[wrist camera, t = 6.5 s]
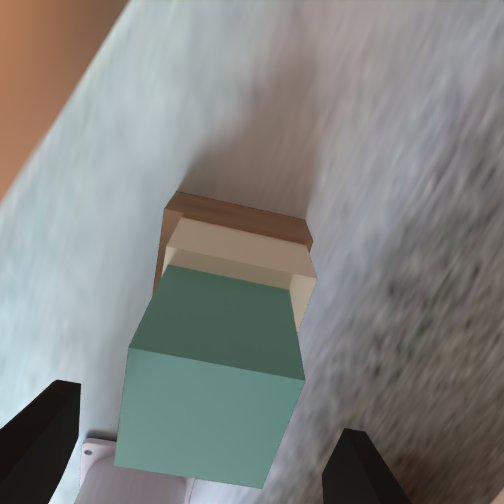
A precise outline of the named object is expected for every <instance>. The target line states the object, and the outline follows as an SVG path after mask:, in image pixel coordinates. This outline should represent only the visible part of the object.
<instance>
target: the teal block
mask: <svg viewBox="0 0 504 504" xmlns="http://www.w3.org/2000/svg"><path fill="white" fill-rule="evenodd" d="M304 383H305V376H304V370H303V364H302V359H301V353H300V347H299V342H298V336H297V330H296V325H295V319H294V313H293V308H292V302H291V296H290V291H289V290H287V289H282V288H277V287H273V286H268V285H263V284H259V283H254V282H249V281H245V280H240V279H235V278H230V277H226V276H221V275H216V274H211V273H207V272H202V271H197V270H192V269H188V268H183V267H178V266H173V265H169V264H168V265H167V267H166V269H165V271H164V273H163V275H162V278H161V280H160V282H159V284H158V286H157V288H156V290H155V292H154V294H153V297H152V299H151V301H150V303H149V305H148V307H147V309H146V311H145V314H144V316H143V318H142V320H141V322H140V324H139V326H138V328H137V331H136V333H135V335H134V337H133V339H132V341H131V343H130V345H129V348H128V356H127V364H126V372H125V380H124V388H123V396H122V404H121V412H120V420H119V428H118V436H117V444H116V452H115V460H114V466H118V467H125V468H131V469H137V470H144V471H150V472H157V473H163V474H169V475H176V476H182V477H189V478H195V479H201V480H208V481H214V482H221V483H227V484H233V485H240V486H246V487H253V488H259V489H262V488H263V485H264V483H265V480H266V478H267V475H268V473H269V470H270V468H271V465H272V463H273V460H274V458H275V455H276V453H277V450H278V448H279V445H280V443H281V440H282V438H283V435H284V433H285V430H286V428H287V425H288V423H289V420H290V418H291V415H292V413H293V410H294V408H295V405H296V403H297V400H298V398H299V395H300V393H301V390H302V388H303V385H304Z"/></svg>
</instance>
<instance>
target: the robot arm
mask: <svg viewBox="0 0 504 504" xmlns="http://www.w3.org/2000/svg"><path fill="white" fill-rule="evenodd" d="M80 395H81V384H80V383H74V382H68V381H62V380H56V381H54V382H52V383H51V384H50V385H49V386H48V387H47V388H46V389H45V390H44V391H43V392H42V393H40V394H39V395H38V396H37V397H36V398H35V399H34V400H33V401H32V402H31V403H30V404H28V405H27V406H26V407H25V408H24V409H23V410H22V411H21V412H19V413H18V414H17V415H16V416H15V417H14V418H13V419H12V420H10V421H9V422H8V423H7V424H6V425H5V426H4V427H2V428H1V429H0V504H48V503H49V501H50V499H51V497H52V496H53V494H54V492H55V490H56V488H57V486H58V484H59V482H60V480H61V478H62V476H63V473H64V471H65V469H66V466H67V464H68V462H69V459H70V457H71V454H72V452H73V449H74V447H75V444H76V442H77V440H78V437H79V416H80ZM116 444H117V442H114V441H108V440H101V439H95V438H86V439H85V440H84V441H83V443H82V445H81V461H80V480H79V493H78V495H77V497H76V500H75V502H74V504H188V503H189V500H190V496H191V492H192V488H193V484H194V480H195V478H189V477H182V476H176V475H169V474H163V473H157V472H150V471H144V470H137V469H131V468H125V467H118V466H114V460H115V452H116ZM322 486H323V500H324V504H412V503H411V502H410V500H409V499H408V497H407V496H406V494H405V493H404V491H403V490H402V488H401V487H400V485H399V483H398V482H397V480H396V479H395V477H394V476H393V474H392V473H391V471H390V470H389V468H388V466H387V465H386V463H385V462H384V460H383V459H382V457H381V455H380V454H379V452H378V451H377V449H376V448H375V446H374V445H373V443H372V441H371V440H370V438H369V437H368V435H367V434H366V432H364V431H358V430H352V429H346V428H344V430H343V432H342V434H341V436H340V438H339V440H338V443H337V445H336V447H335V449H334V451H333V453H332V455H331V457H330V459H329V461H328V463H327V465H326V467H325V469H324V471H323V473H322Z"/></svg>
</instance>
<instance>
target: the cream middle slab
mask: <svg viewBox="0 0 504 504" xmlns="http://www.w3.org/2000/svg"><path fill="white" fill-rule="evenodd" d="M168 264H169V265H173V266H178V267H183V268H188V269H192V270H197V271H202V272H207V273H211V274H216V275H221V276H226V277H230V278H235V279H240V280H245V281H249V282H254V283H259V284H263V285H268V286H273V287H277V288H282V289H287V290H289V291H290V296H291V302H292V308H293V313H294V319H295V325H296V330H297V333H298V330H299V327H300V325H301V322H302V319H303V316H304V314H305V311H306V308H307V306H308V303H309V300H310V297H311V295H312V292H313V289H314V287H315V284H316V281H317V276H316V273H315V270H314V267H313V264H312V261H311V258H310V255H309V252H308V249H307V246H306V245H303V244H298V243H294V242H290V241H285V240H281V239H276V238H272V237H268V236H263V235H259V234H255V233H250V232H246V231H241V230H237V229H233V228H228V227H224V226H219V225H215V224H211V223H206V222H202V221H197V220H193V219H189V218H184V217H181V219H180V221H179V223H178V225H177V227H176V229H175V230H174V232H173V234H172V236H171V238H170V240H169V242H168V244H167V246H166V252H165V258H164V264H163V271H162V275H163V273H164V271H165V269H166V267H167V265H168ZM161 278H162V277H161Z"/></svg>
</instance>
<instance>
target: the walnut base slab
mask: <svg viewBox="0 0 504 504" xmlns="http://www.w3.org/2000/svg"><path fill="white" fill-rule="evenodd" d="M181 217H184V218H189V219H193V220H197V221H202V222H206V223H211V224H215V225H219V226H224V227H228V228H233V229H237V230H241V231H246V232H250V233H255V234H259V235H263V236H268V237H272V238H276V239H281V240H285V241H290V242H294V243H298V244H303V245H306V246H307V249H308V252H310V249H311V246H312V243H313V239H312V237H311V234H310V231H309V229H308V226H307V224H306V221H305V220H303V219H299V218H294V217H290V216H285V215H281V214H276V213H272V212H267V211H263V210H258V209H254V208H249V207H245V206H240V205H236V204H231V203H227V202H222V201H218V200H213V199H209V198H204V197H200V196H195V195H191V194H186V193H182V192H177V191H176V193H175V194H174V195H173V197H172V198H171V200H170V201H169V203H168V204H167V206H166V207H165V208H164V215H163V222H162V229H161V237H160V244H159V251H158V259H157V266H156V273H155V281H154V288H153V294H154V292H155V290H156V288H157V286H158V284H159V282H160V280H161V277H162V271H163V264H164V258H165V252H166V246H167V244H168V242H169V240H170V238H171V236H172V234H173V232H174V230H175V229H176V227H177V225H178V223H179V221H180V219H181ZM152 297H153V295H152Z"/></svg>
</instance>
